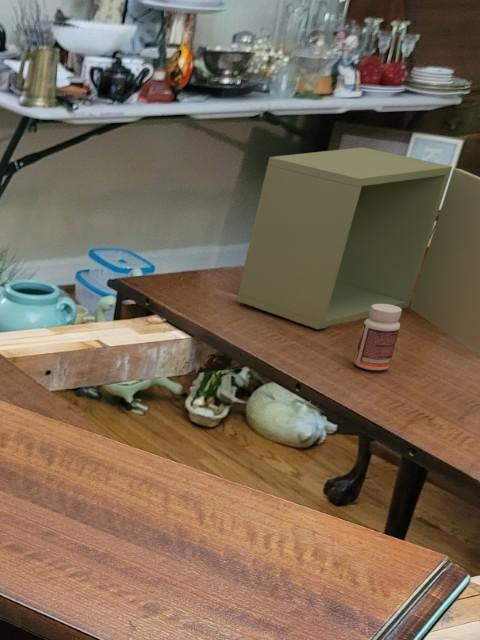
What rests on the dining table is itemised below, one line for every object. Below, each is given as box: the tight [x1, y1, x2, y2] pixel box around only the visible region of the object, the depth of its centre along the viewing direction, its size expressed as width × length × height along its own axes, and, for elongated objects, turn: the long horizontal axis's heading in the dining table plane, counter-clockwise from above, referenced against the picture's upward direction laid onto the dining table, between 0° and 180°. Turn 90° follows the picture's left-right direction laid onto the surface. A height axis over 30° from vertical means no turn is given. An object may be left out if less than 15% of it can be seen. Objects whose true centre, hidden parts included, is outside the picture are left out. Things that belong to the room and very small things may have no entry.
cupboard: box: [236, 146, 453, 330], centre depth 176 cm, size 16×24×22 cm, turn 125°
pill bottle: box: [353, 304, 403, 371], centre depth 155 cm, size 5×5×8 cm
